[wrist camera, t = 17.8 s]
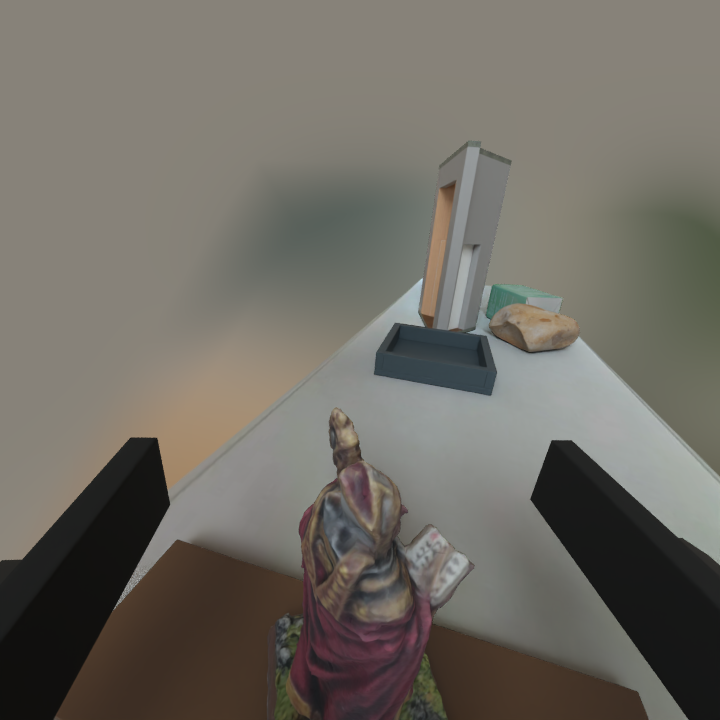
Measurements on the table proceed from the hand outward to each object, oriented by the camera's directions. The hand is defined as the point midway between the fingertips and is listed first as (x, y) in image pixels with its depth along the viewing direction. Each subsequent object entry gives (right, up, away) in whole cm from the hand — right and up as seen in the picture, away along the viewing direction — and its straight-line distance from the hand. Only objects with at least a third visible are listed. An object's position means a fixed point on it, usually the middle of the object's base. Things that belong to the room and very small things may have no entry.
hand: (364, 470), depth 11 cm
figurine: (0, -9, +1) cm, 9 cm away
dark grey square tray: (+10, +3, +35) cm, 37 cm away
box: (+32, +11, +57) cm, 66 cm away
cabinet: (+17, +10, +52) cm, 55 cm away
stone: (+29, +6, +45) cm, 54 cm away
